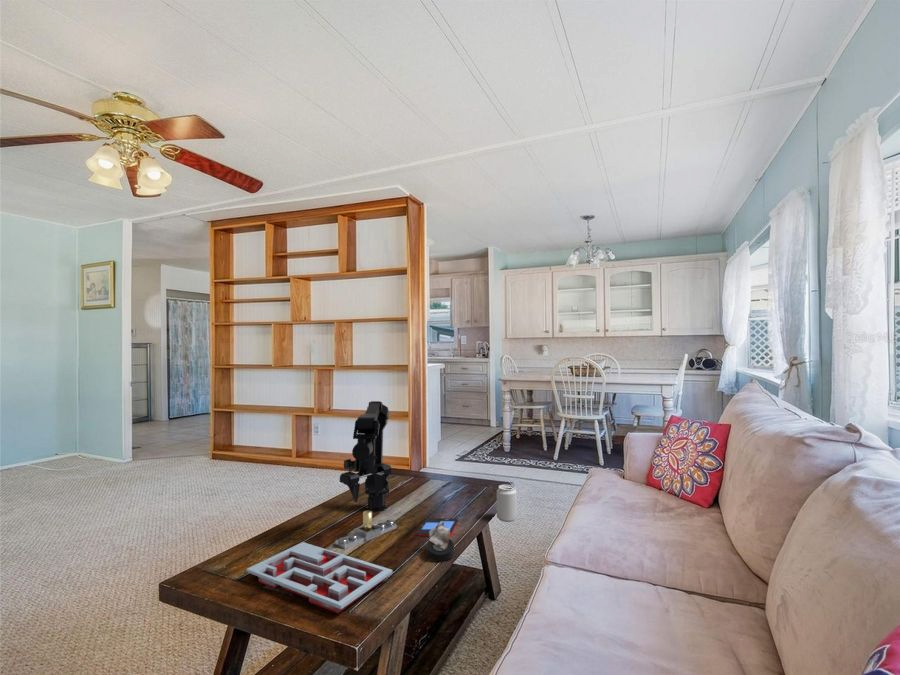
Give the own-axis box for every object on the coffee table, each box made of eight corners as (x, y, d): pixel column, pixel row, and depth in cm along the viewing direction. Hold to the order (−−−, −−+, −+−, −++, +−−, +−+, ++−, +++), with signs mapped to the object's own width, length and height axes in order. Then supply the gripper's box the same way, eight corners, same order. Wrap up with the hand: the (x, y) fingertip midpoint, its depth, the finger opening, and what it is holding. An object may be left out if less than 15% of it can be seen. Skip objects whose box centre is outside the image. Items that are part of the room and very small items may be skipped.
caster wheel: (441, 572, 130) (418, 556, 137) (466, 551, 138) (443, 538, 145) (440, 552, 129) (417, 537, 135) (465, 533, 137) (442, 520, 143)
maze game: (392, 581, 120) (392, 569, 120) (341, 619, 103) (341, 605, 103) (302, 552, 138) (302, 542, 138) (246, 580, 121) (246, 568, 121)
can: (510, 524, 160) (510, 491, 160) (492, 519, 164) (492, 487, 165) (520, 518, 166) (520, 485, 166) (503, 513, 170) (503, 482, 170)
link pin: (368, 533, 152) (368, 509, 152) (373, 535, 150) (373, 511, 150) (361, 536, 149) (361, 512, 150) (366, 538, 147) (366, 514, 148)
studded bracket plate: (387, 523, 160) (387, 516, 160) (398, 528, 156) (398, 520, 156) (333, 544, 143) (333, 536, 143) (344, 550, 139) (344, 542, 139)
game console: (426, 521, 164) (426, 515, 164) (459, 524, 161) (459, 518, 161) (414, 537, 150) (414, 530, 150) (450, 541, 147) (450, 534, 147)
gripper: (372, 445, 165) (372, 486, 165) (330, 454, 151) (329, 500, 151) (392, 449, 158) (392, 493, 158) (350, 460, 144) (349, 508, 144)
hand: (366, 498), depth 153 cm, fingers open, 9 cm apart
